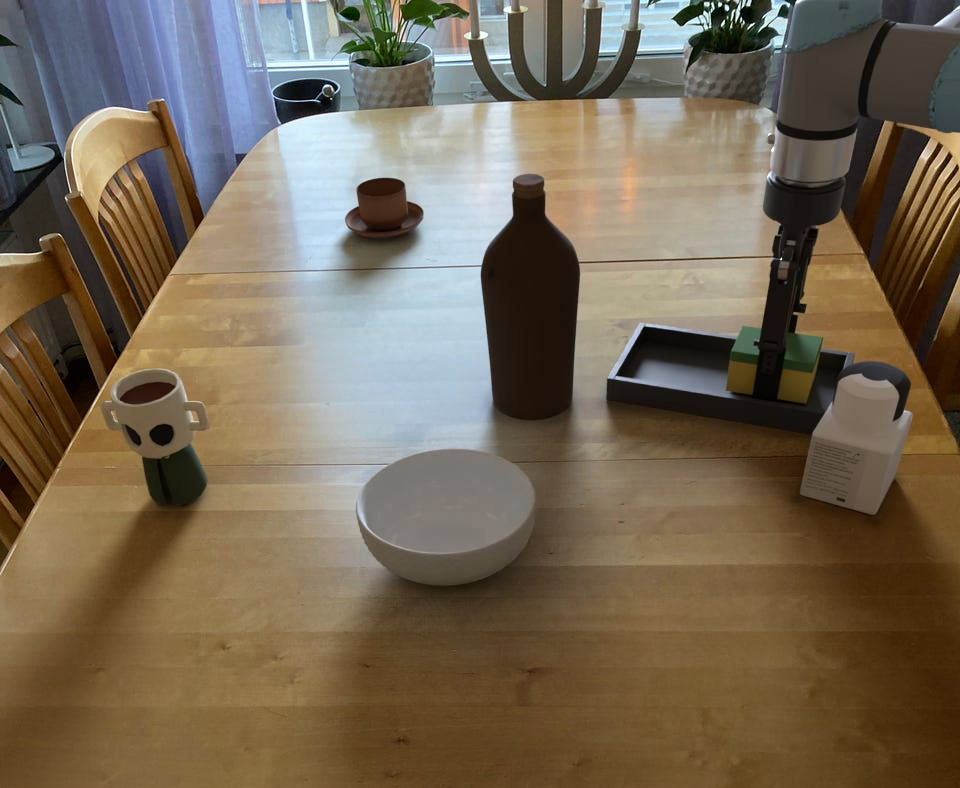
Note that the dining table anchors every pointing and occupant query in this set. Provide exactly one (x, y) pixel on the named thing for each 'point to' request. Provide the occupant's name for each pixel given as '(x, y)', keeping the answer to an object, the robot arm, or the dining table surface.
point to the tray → (711, 379)
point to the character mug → (160, 431)
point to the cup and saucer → (383, 209)
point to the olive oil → (530, 308)
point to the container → (859, 438)
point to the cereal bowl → (446, 515)
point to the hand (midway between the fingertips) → (770, 381)
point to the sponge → (795, 369)
